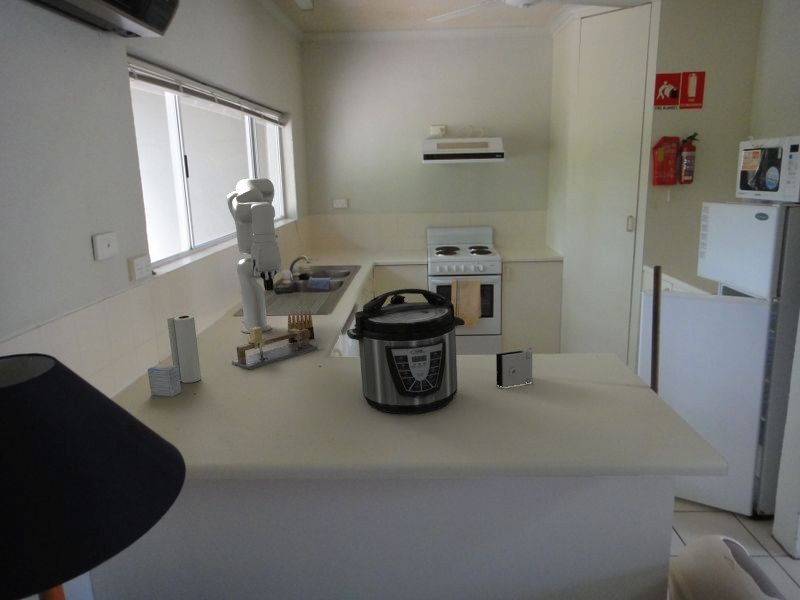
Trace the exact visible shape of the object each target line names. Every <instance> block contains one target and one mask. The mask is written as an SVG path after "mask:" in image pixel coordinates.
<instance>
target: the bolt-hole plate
mask: <svg viewBox="0 0 800 600" xmlns="http://www.w3.org/2000/svg"><path fill="white" fill-rule="evenodd" d="M300 345H301V348H298V342H296V343H292V344H290V343H288V344H286V345H282V346H279V347H276V348H273V349H269V350H266V351H265V350H264V351H263V358H262V359H261V358H260V352H258V353H255V354H250V355H246V362H245V363H242V364H241V363H238V358H237V359H233V360H231V363H232V364H231V365H234V366H237V367H241V368H244V369H246V370H249V371H250V370H254V369H256V368H260V367H262V366H266V365H269V364H273V363H276V362H280V361H283V360H286V359H289V358H292V357H295V356H299V355H303V354H305V353H309V352H313V351H316V350H318V349H319V347H318V345H316V344H315V345H314V344H311V343H309V344H307V345H303V344H302V341H301V342H300Z"/></svg>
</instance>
